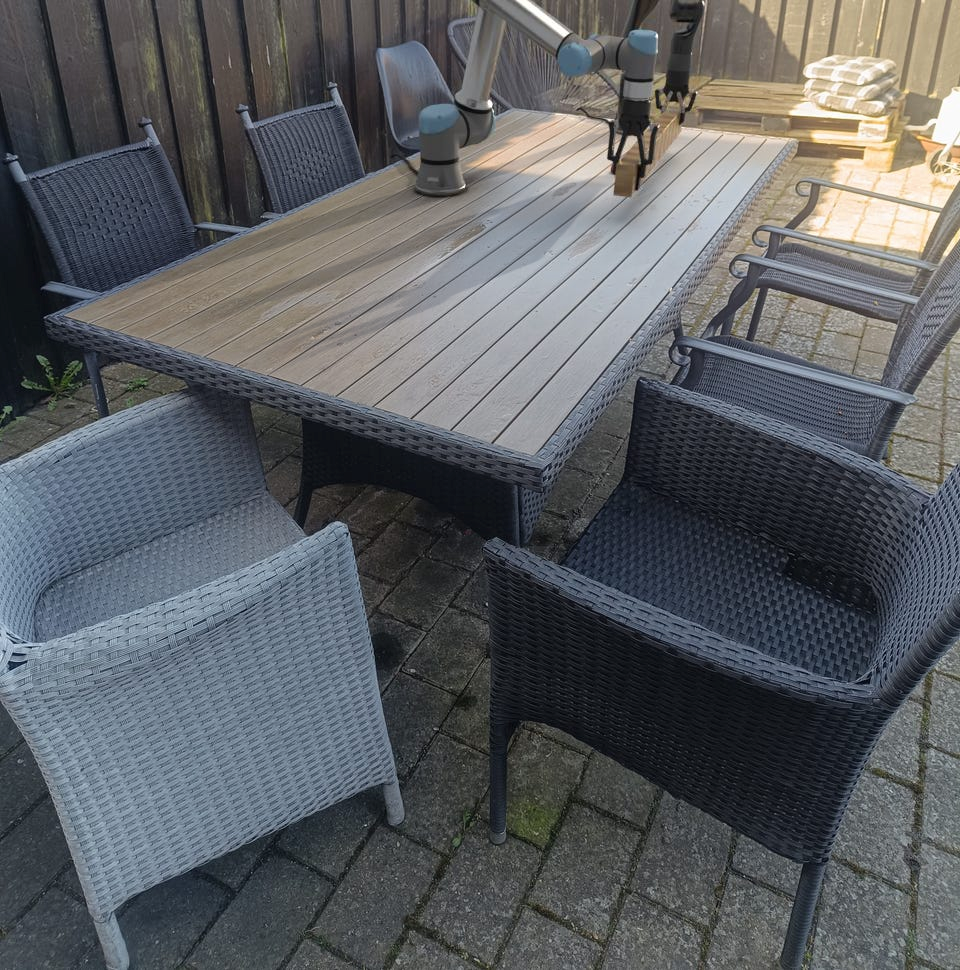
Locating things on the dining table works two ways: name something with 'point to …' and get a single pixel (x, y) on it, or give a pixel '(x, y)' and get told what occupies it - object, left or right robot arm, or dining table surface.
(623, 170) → the bar
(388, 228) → the dining table surface
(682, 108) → the right robot arm
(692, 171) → the dining table surface
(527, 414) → the dining table surface
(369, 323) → the dining table surface
